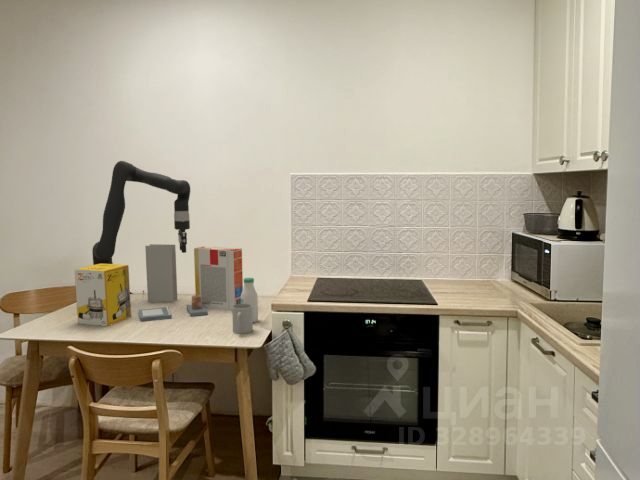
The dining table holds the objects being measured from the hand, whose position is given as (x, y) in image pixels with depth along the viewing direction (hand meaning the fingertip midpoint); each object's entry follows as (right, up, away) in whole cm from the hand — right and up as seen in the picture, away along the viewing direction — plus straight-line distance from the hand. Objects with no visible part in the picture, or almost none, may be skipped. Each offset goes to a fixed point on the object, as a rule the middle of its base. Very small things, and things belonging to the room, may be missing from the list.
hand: (183, 251), depth 263 cm
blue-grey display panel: (-9, -30, -17) cm, 36 cm away
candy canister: (+38, -32, -27) cm, 56 cm away
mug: (+37, -34, -43) cm, 66 cm away
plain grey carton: (-14, -27, +13) cm, 33 cm away
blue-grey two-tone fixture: (+9, -29, -10) cm, 32 cm away
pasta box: (+19, -28, 0) cm, 34 cm away
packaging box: (-30, -32, -24) cm, 50 cm away
